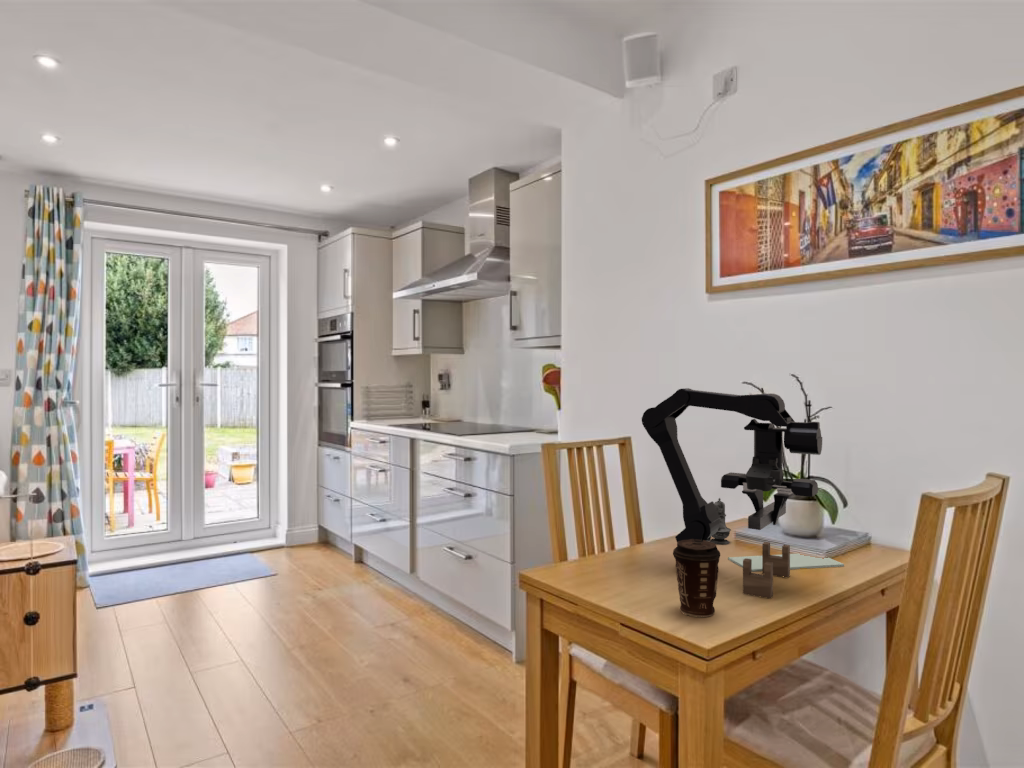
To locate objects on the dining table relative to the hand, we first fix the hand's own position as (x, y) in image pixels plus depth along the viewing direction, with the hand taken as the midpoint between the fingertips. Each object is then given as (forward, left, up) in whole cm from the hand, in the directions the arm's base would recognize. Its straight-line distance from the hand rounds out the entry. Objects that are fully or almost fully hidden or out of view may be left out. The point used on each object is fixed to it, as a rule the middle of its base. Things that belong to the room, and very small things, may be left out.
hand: (767, 523), depth 135 cm
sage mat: (+13, +13, -13) cm, 22 cm away
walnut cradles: (0, -1, -13) cm, 13 cm away
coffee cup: (-22, -13, -13) cm, 29 cm away
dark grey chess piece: (+7, +33, -13) cm, 37 cm away
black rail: (0, 0, +1) cm, 1 cm away
